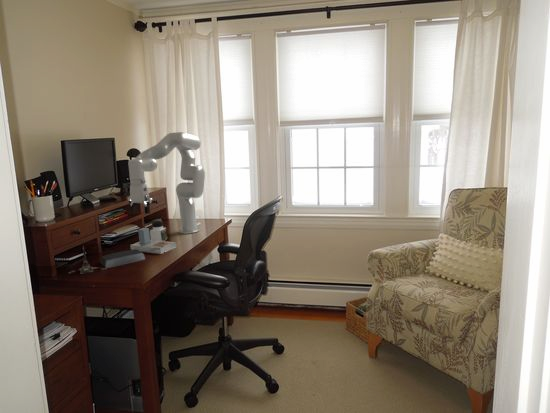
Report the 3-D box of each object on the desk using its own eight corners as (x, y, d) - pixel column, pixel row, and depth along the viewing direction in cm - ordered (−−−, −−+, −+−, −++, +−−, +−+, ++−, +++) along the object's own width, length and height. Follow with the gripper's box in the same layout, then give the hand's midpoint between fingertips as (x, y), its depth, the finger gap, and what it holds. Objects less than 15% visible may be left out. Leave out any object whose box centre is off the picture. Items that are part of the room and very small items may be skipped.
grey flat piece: (147, 244, 232) (146, 239, 231) (176, 247, 221) (175, 242, 221) (131, 250, 221) (130, 244, 221) (161, 253, 211) (160, 248, 210)
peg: (145, 246, 227) (143, 227, 225) (150, 247, 225) (148, 228, 223) (140, 248, 223) (138, 229, 221) (145, 249, 221) (143, 230, 219)
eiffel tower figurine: (108, 269, 192) (104, 242, 190) (92, 276, 183) (88, 248, 181) (84, 267, 198) (80, 241, 195) (67, 274, 188) (63, 247, 186)
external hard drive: (146, 260, 203) (145, 252, 202) (106, 269, 192) (104, 261, 191) (138, 254, 213) (137, 247, 212) (100, 263, 202) (99, 255, 202)
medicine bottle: (162, 242, 235) (159, 222, 233) (150, 242, 236) (148, 222, 234) (167, 238, 242) (165, 219, 239) (156, 238, 243) (154, 219, 241)
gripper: (154, 181, 216) (157, 212, 219) (131, 181, 224) (134, 211, 227) (144, 183, 210) (147, 215, 213) (120, 182, 218) (124, 213, 221)
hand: (141, 213), depth 220 cm, fingers open, 9 cm apart
